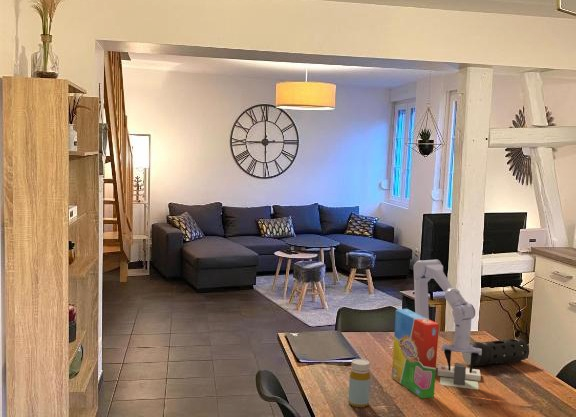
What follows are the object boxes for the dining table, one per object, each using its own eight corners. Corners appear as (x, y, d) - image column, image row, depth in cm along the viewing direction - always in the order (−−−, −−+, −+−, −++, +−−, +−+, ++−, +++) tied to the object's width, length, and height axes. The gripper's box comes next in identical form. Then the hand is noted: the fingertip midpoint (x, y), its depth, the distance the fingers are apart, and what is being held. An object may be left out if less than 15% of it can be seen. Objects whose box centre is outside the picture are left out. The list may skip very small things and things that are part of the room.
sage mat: (439, 385, 228) (440, 384, 228) (440, 378, 236) (440, 377, 236) (478, 391, 225) (478, 389, 225) (477, 383, 232) (477, 381, 232)
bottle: (346, 399, 212) (348, 358, 211) (366, 399, 213) (368, 358, 211) (350, 408, 205) (352, 365, 204) (370, 408, 206) (373, 365, 204)
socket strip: (437, 376, 238) (438, 370, 237) (437, 370, 244) (438, 364, 244) (480, 382, 234) (480, 375, 233) (479, 375, 240) (479, 369, 240)
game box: (391, 378, 234) (394, 309, 232) (403, 376, 236) (407, 308, 234) (422, 399, 215) (426, 324, 213) (434, 397, 217) (439, 323, 215)
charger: (453, 384, 229) (454, 366, 228) (453, 380, 233) (454, 362, 232) (464, 385, 228) (465, 367, 227) (464, 381, 232) (465, 363, 231)
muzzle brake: (528, 365, 255) (530, 341, 254) (474, 372, 245) (476, 347, 244) (512, 358, 264) (514, 334, 263) (460, 364, 254) (461, 340, 253)
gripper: (442, 336, 226) (440, 371, 228) (483, 341, 223) (480, 376, 224) (442, 331, 233) (440, 365, 235) (481, 335, 230) (479, 370, 231)
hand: (459, 370), depth 230 cm, fingers open, 7 cm apart
